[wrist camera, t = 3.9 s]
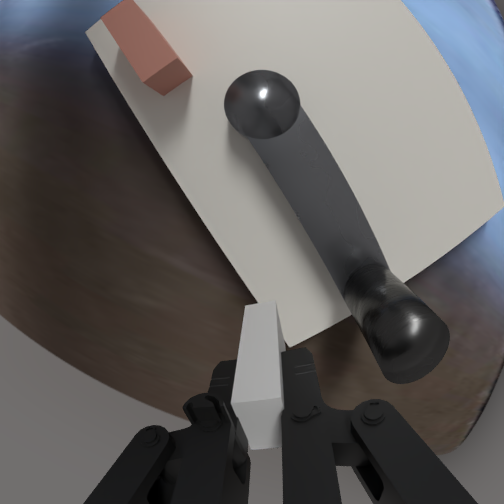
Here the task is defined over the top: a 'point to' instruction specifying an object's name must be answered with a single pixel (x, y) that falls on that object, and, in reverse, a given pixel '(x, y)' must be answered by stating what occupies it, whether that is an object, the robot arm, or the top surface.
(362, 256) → the swing bar
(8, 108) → the top surface
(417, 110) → the board
